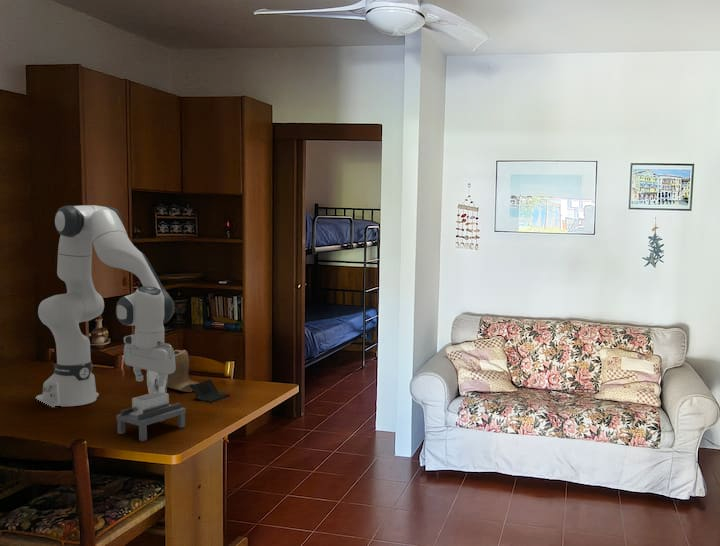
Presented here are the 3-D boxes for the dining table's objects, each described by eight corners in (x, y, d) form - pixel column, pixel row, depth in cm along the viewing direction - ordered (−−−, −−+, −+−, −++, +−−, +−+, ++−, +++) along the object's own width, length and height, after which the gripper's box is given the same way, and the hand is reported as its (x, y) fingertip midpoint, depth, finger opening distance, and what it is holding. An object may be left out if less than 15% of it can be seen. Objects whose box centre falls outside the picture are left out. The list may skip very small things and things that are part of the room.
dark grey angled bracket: (216, 399, 249) (203, 375, 251) (201, 410, 250) (188, 386, 253) (232, 396, 260) (218, 373, 262) (217, 406, 261) (204, 383, 264)
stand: (116, 434, 215) (116, 410, 215) (160, 420, 229) (159, 397, 229) (142, 441, 209) (142, 416, 208) (185, 426, 223) (185, 403, 222)
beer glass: (146, 408, 243) (145, 365, 242) (166, 406, 246) (166, 363, 244) (148, 413, 237) (147, 369, 235) (169, 411, 239) (169, 368, 238)
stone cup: (156, 388, 269) (156, 349, 268) (184, 383, 277) (183, 345, 276) (177, 396, 258) (176, 356, 257) (205, 390, 267) (204, 351, 265)
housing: (162, 405, 225) (162, 389, 225) (172, 408, 222) (172, 392, 222) (128, 415, 214) (127, 398, 214) (138, 418, 212) (138, 401, 211)
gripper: (180, 342, 213) (180, 387, 215) (136, 333, 224) (136, 376, 226) (164, 346, 208) (164, 391, 209) (120, 336, 219) (120, 380, 221)
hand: (149, 383), depth 218 cm, fingers open, 8 cm apart
